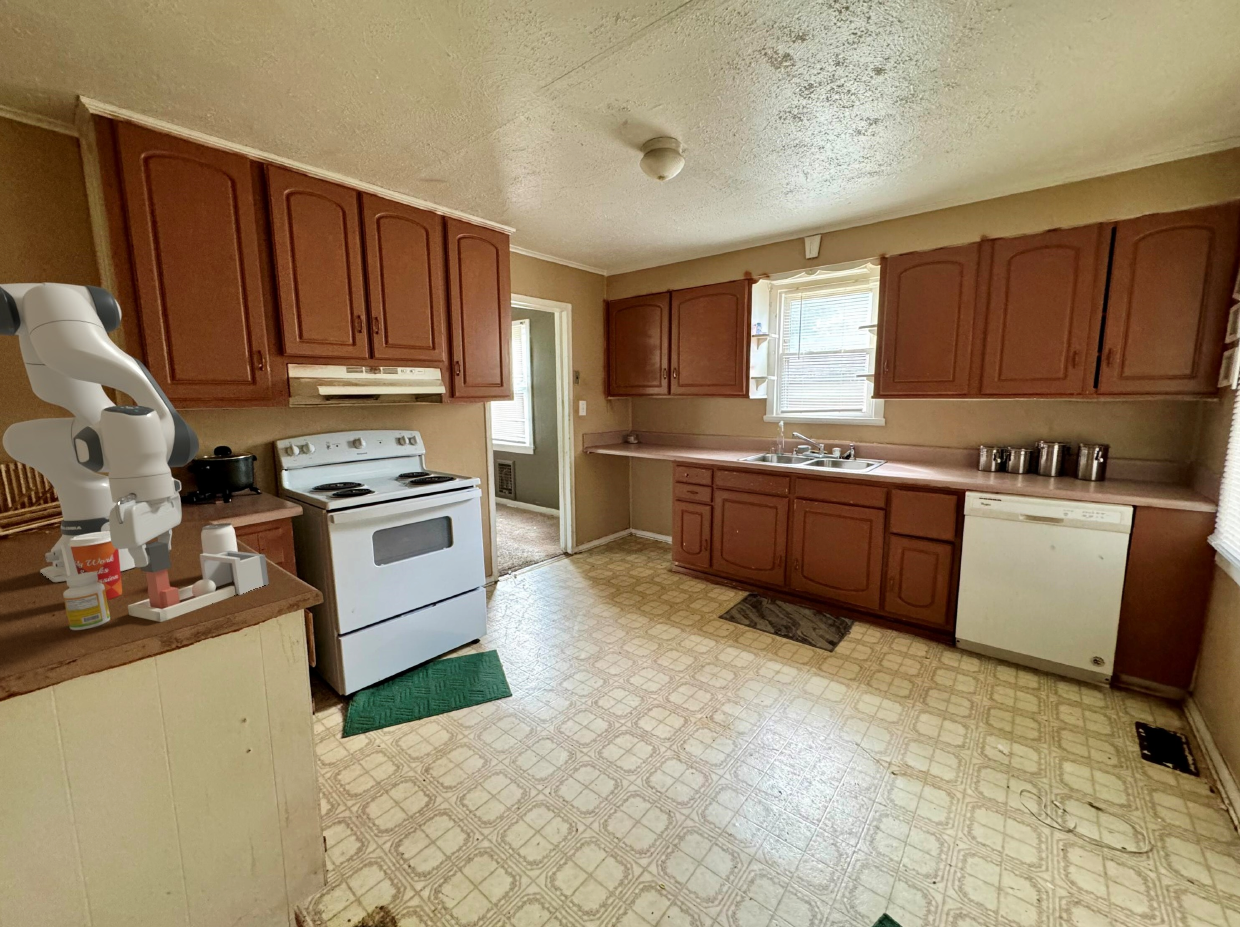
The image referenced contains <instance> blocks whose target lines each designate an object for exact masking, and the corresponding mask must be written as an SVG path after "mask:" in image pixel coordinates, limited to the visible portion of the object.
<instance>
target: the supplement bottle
mask: <svg viewBox="0 0 1240 927" xmlns="http://www.w3.org/2000/svg"><path fill="white" fill-rule="evenodd" d="M97 580H98V577H97V573H96V572H89V573H82V574H78V575H74V576H71V577H68V578H67V579H66V581H65V582H66V586H67V587H69V588H68V589H66V590H64V592H63V593H62V594H63V596H62V597H63V600H64V601H63V602H64V606H65V612H66V616H67V621H68V622H67V623H68V626H69V629H70V630H72V631H82V630H88V629H92V628H97V627H99V626H101V625H104V624H106V623H107V622H109V621H110V620H111V614H110V608H109V604H108V603H109V602H108V600H107V597H106V592H105V587H104V585H103V584H102V583H97V582H96V581H97Z"/></svg>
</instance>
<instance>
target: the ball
mask: <svg viewBox="0 0 1240 927" xmlns="http://www.w3.org/2000/svg"><path fill="white" fill-rule="evenodd" d="M192 585H193V587H192V594H193V595H194V598H196V597H199V596H202V595H205V594H208V593H211V592H214V591H217V590H216V588H217V587H216V585H215V583H214V582H213V581H211V580H208V579H203V578H202V579H200V580H197V581H196V582H195V583H193V584H192Z"/></svg>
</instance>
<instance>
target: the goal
mask: <svg viewBox="0 0 1240 927" xmlns="http://www.w3.org/2000/svg"><path fill="white" fill-rule="evenodd" d="M199 560H200V561H199V562H200V567H201V573H202V574H201V575H202V580H203V579H208V580H211V581H213V582H214V583H215V585H216V588H217V587H220V586H223V585H226V584H229V583H234V587H235V594H236V595H237V594H238V595H237V596H242V595H244V594H247V593H248V591H250V590H252V591H254V590H253V589H255V588H258V589H260V588H259V587H261V588H263V587H262V586H264V585H266V586H269V585H270V583H269V576H268V569H267V568H268V566H267V560H266V554H262V553H261V554H259V553H253V552H243V551H238V552H237V551H227V552H223V553H220V554H216V555H214V554H206V553H204V554H203V553H200V554H199ZM232 581H233V582H232ZM268 584H269V585H268ZM264 587H265V586H264ZM255 590H256V589H255ZM246 592H247V593H246ZM250 592H251V591H250ZM243 593H244V594H243Z"/></svg>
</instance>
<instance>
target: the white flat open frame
mask: <svg viewBox="0 0 1240 927" xmlns="http://www.w3.org/2000/svg"><path fill="white" fill-rule="evenodd" d="M193 585H194V584H191V585H189V586H186V587H185V586H184V587H181V588H180V589H179V588H178V593H179V599H180V601H181V600H184V599H188V598H191V597H193V596H194V595H193V594H192V587H193ZM234 595H235V596H236V595H237V594H236V588H235V585H230V586H226V587H223V588H220V589H217V590H215V591H214V592H211V593H208V594H205V595H202V596H199V597H195V596H194V597H193V598H191V599H188V600H185V601H182V602H180V603H179V604H176V605H173V606H170V607H167V608H164V609H159V608H154V607H150V601H149V598H147V599H144V600H141V601H138V602H135V603H132V604H128V605H127V610H128V615H129V616H132V617H137V618H141V619H146V620H149V621H150V620H151V621H155V622H159V623H162V622H165V621H168V620H172V619H174V618H176V617H179V616H181V615H184V614H188V613H190V612H193V611H197V610H198V609H201V608H205V607H207V606H210V605H212V603H213V604H216V603H218V602H221V601H224V600H226V599H230V598H231V597H235V596H234Z"/></svg>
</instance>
